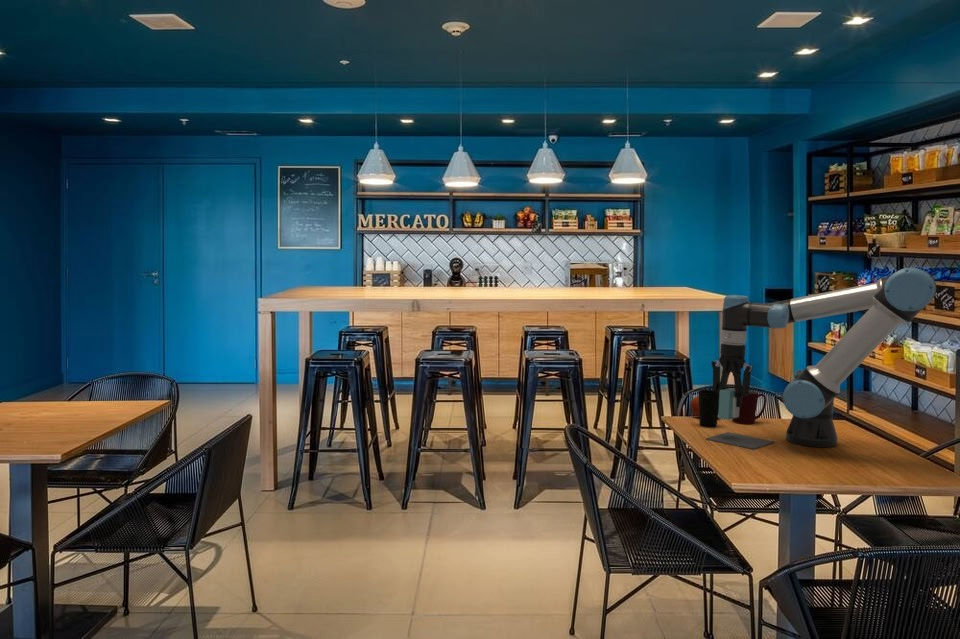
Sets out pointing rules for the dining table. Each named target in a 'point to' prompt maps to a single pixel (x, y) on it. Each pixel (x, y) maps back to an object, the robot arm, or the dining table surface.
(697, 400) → the fruit
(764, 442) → the mat
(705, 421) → the cup
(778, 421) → the dining table surface
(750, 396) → the mug
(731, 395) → the card box
